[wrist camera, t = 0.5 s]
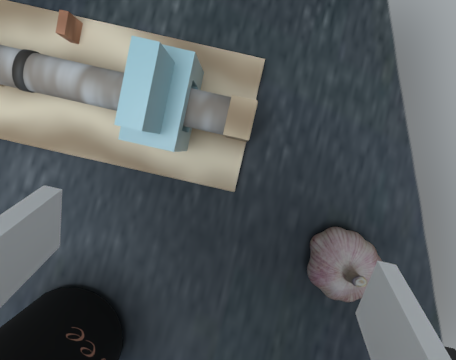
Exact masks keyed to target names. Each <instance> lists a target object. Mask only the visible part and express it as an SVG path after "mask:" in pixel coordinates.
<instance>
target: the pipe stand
mask: <svg viewBox="0 0 456 360" xmlns="http://www.w3.org/2000/svg"><path fill="white" fill-rule="evenodd" d="M131 36H136V37H141V38H145V39H150V40H154V41H158V42H160V43H161V44H163V45H167V46H171V47H176V48H180V49H185V50H189V51H194V52H195V53H196V55H197V57H198V60H199V62H200V64H201V67H202V69H203V71H204V75H203V80H202V84H201V89H200V90H198V89H193V88H191V91H190V95H189V100H188V105H187V109H186V114H185V119H184V123H183V126H186V127H190V128H192V131H191V135H190V140H189V144H188V149H187V151H181V152H172V151H167V150H163V149H158V148H154V147H150V146H145V145H141V144H136V143H132V142H128V141H123V140H119V139H118V138H119V133H120V128H121V126H117V125H114V123H115V118H116V113H117V108H118V103H119V98H120V92H121V87H122V82H123V77H124V72H125V67H126V62H127V57H128V52H129V46H130V41H131ZM264 62H265V59H263V58H258V57H254V56H250V55H245V54H241V53H236V52H232V51H228V50H223V49H219V48H214V47H210V46H206V45H201V44H197V43H192V42H188V41H183V40H179V39H175V38H170V37H166V36H161V35H157V34H153V33H148V32H144V31H139V30H135V29H131V28H126V27H122V26H117V25H113V24H109V23H104V22H100V21H95V20H91V19H87V18H82V17H78V16H73V15H72V14H71V13H70V12H68V11H64V10H59V12H56V11H51V10H47V9H43V8H38V7H34V6H29V5H25V4H21V3H16V2H12V1H7V0H0V139H4V140H8V141H12V142H17V143H21V144H26V145H30V146H34V147H39V148H43V149H48V150H52V151H56V152H61V153H65V154H70V155H74V156H78V157H83V158H87V159H91V160H96V161H100V162H105V163H109V164H113V165H118V166H122V167H127V168H131V169H135V170H140V171H144V172H149V173H153V174H157V175H162V176H166V177H170V178H175V179H179V180H184V181H188V182H192V183H197V184H201V185H206V186H210V187H214V188H219V189H223V190H228V191H232V192H235V188H236V183H237V179H238V175H239V170H240V166H241V162H242V157H243V153H244V149H245V144H246V142H247V141H249V138H250V133H251V129H252V125H253V120H254V116H255V112H256V107H257V103H258V101H257V100H256V96H257V92H258V88H259V83H260V79H261V75H262V70H263V66H264Z"/></svg>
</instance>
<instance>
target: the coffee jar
mask: <svg viewBox="0 0 456 360" xmlns="http://www.w3.org/2000/svg"><path fill="white" fill-rule="evenodd" d="M122 346H123V339H122V327H121V324H120V322H119V319H118V317H117V314H116V312H115V311H114V310H113V309H112V307H111V306H110V305H109V304H108V302H107V301H106V300H104V299H103V298H101V297H100V296H98V295H97V294H95V293H94V292H91V291H87V290H84V289H81V288H59V289H56V290H53V291H50V292H47V293H45V294H44V295H42V296H41V297H40V298H38V299H37V300H36V301H34V302H33V303H32V304H30V305H29V306H28V307H26V308H25V309H24V310H23V311H21V312H20V313H19V314H17V315H16V316H15V317H13V318H12V319H11V320H9V321H8V322H7V323H6V324H4V325H3V326H2V327H0V360H119V356H120V353H121V349H122Z"/></svg>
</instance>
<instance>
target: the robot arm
mask: <svg viewBox="0 0 456 360" xmlns="http://www.w3.org/2000/svg"><path fill="white" fill-rule="evenodd" d="M61 207H62V189H58V188H53V187H49V186H45V185H44V186H42V187H41V188H39V189H38V190H36V191H35V192H33V193H32V194H30V195H29V196H27V197H26V198H24V199H23V200H21V201H20V202H19V203H17V204H16V205H14V206H13V207H11V208H10V209H8V210H7V211H5V212H4V213H2V214H1V215H0V308H1V307H2V306H3V305H4V304H5V302H6V301H7V300H8V299H9V298H10V297H11V296H12V295H13V294H14V293H15V292H16V291H17V290H18V289H19V288H20V287H21V286H22V285H23V284H24V283H25V282H26V281H27V280H28V279H29V278H30V277H31V276H32V275H33V274H34V273H35V272H36V271H37V270H38V269H39V267H40V266H41V265H42V264H43V263H44V262H45V261H46V260H47V259H48V258H49V257H50V256H51V255H52V254H53V253H54V252H55V251H56V250H57V249H58V248H59V247H60V233H61ZM355 314H356V317H357V320H358V323H359V326H360V329H361V332H362V335H363V338H364V341H365V344H366V347H367V350H368V353H369V356H370V359H371V360H456V350H455V349H453V348H449V347H444V346H443V344H442V342H441V340H440V339H439V337H438V335H437V334H436V332H435V330H434V329H433V327H432V325H431V323H430V322H429V320H428V318H427V317H426V315H425V313H424V311H423V310H422V308H421V306H420V305H419V303H418V301H417V300H416V298H415V296H414V294H413V293H412V291H411V289H410V288H409V286H408V284H407V282H406V281H405V279H404V277H403V276H402V274H401V272H400V270H399V269H398V267H397V265H395V264H391V263H386V262H382V261H377V263H376V266H375V268H374V270H373V273H372V275H371V277H370V280H369V282H368V284H367V287H366V289H365V291H364V294H363V296H362V299H361V301H360V303H359V306H358V308H357V310H356V313H355Z"/></svg>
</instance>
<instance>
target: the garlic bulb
mask: <svg viewBox="0 0 456 360" xmlns="http://www.w3.org/2000/svg"><path fill="white" fill-rule="evenodd" d="M310 250H311V254H310V261H309V263H308V265H307V273H308V277H309V279H310V281H311V282H312V283H313V284H314V285H315V286H317V287H318V288H320V289H321V290H322V291H323V293H324V294H325V295H326V296H327V297H328V298H330V299H333V300H341V301H344V302H353V301H355V300H357V299H361V298H362V296H363V294H364V291H365V289H366V287H367V284H368V282H369V280H370V277H371V275H372V273H373V270H374V268H375V266H376V263H377V261H382V260H381V258H380V257H379V256H378V254H377V251H376V249H375V247H374V246H373V245H372V244H371V243H370V242H368V241H366V240H365V239H364V238H363V237H362V236H361V235H360V234H359V233H357V232H354V231H349V230H345V229H343V228H341V227H330V228H328V229H326V230H325V231H323V232H321V233H318V234H316V235H314V236H313V237H312V239H311V241H310Z"/></svg>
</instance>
